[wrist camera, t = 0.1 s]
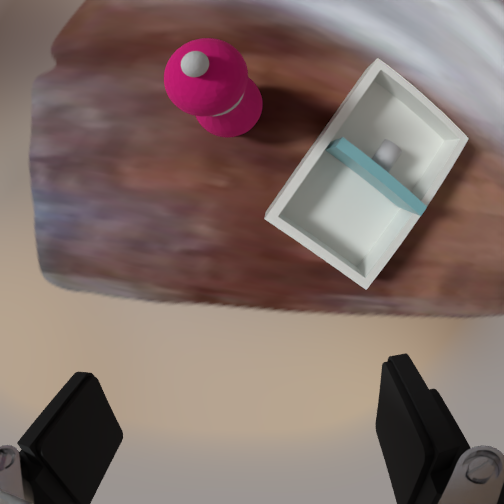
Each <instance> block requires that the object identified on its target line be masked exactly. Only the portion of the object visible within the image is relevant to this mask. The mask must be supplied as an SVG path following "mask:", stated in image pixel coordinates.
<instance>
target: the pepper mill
mask: <svg viewBox="0 0 504 504" xmlns="http://www.w3.org/2000/svg"><path fill="white" fill-rule="evenodd" d="M164 84H165V89H166V92H167V94H168V96H169V98H170V99H171V101H172V102H173V103H174V104H175V105H176V106H177V107H178V108H179V109H181V110H182V111H184V112H186V113H188V114H191V115H195V116H196V118H197V120H198V122H199V123H200V124H201V126H202V127H203V128H205V129H206V130H207V131H208V132H210V133H212V134H214V135H216V136H220V137H235V136H238V135H241V134H244V133H246V132H247V131H249V130H250V129H251V128H252V127H253V126H254V125H255V124H256V123H257V121H258V119H259V118H260V115H261V112H262V107H263V101H262V96H261V93H260V91H259V89H258V87H257V86H256V84H255V83H254V82H253V81H252V80H251V79H250V78H248V70H247V66H246V63H245V61H244V59H243V57H242V55H241V54H240V53H239V52H238V50H237V49H235V48H234V47H233V46H232V45H230V44H228V43H227V42H224V41H222V40H218V39H212V38H203V39H197V40H193V41H190V42H188V43H186V44H185V45H183V46H181V47H180V48H179V49H177V50H176V51H175V53H174V54H173V55H172V56H171V58H170V59H169V61H168V63H167V65H166V68H165V72H164Z"/></svg>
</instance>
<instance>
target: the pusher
mask: <svg viewBox="0 0 504 504" xmlns="http://www.w3.org/2000/svg"><path fill="white" fill-rule="evenodd" d="M325 150H326V151H327V152H328V153H330V154H331V155H333V156H334V157H335V158H337V159H338V160H339V161H341V162H342V163H343V164H345V165H346V166H347V167H349V168H350V169H351V170H353V171H354V172H355V173H357V174H358V175H359V176H360V177H362V178H363V179H364V180H366V181H367V182H368V183H369V184H371V185H372V186H373V187H374V188H376V189H377V190H378V191H379V192H380V193H382V194H383V195H384V196H385V197H387V198H388V199H389V200H390V201H391V202H393V203H394V204H395V205H396V206H397V207H399V208H402V209H404V210H407V211H409V212H412V213H414V214H417V215H419V216H421V215H422V214H423V212H424V211H425V210H426V208H427V206H426V205H425V204H424V203H422V202H421V201H420V200H419V199H418V198H417V197H416V196H415V195H414V194H412V193H411V192H410V191H409V190H408V189H407V188H406V187H404V186H403V185H402V184H401V183H400V182H399V181H398V180H396V179H395V178H394V177H393V176H392V175H390V174H389V171H390V170H391V168H392V167H393V165H394V164H395V162H396V161H397V159H398V158H399V156H400V155H401V153H402V150H401V149H400V148H399V147H398V146H397V145H396V144H395V143H393V142H391V141H390V140H387V139H384V141H383V142H382V144H381V145H380V147H379V148H378V150H377V151H376V153H375V154H374V155H373V157H372V158H370V157H368V156H367V155H366V154H364V153H363V152H362V151H361V150H359V149H358V148H357V147H355V146H354V145H353V144H351V143H350V142H349V141H347V140H346V139H345V138H343V137H341V138H339V139H336V140H334V141H331V142H330V143H329V145H328V146H327V148H326V149H325Z"/></svg>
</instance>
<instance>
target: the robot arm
mask: <svg viewBox="0 0 504 504" xmlns="http://www.w3.org/2000/svg"><path fill="white" fill-rule="evenodd" d="M376 432H377V436H378V439H379V442H380V446H381V449H382V452H383V456H384V459H385V462H386V466H387V469H388V473H389V476H390V480H391V483H392V487H393V490H394V494H395V498H396V501H397V504H504V455H503V454H502V452H501V451H499V450H497V449H496V448H493V447H491V446H476V447H473V448H470V446H469V444H468V443H467V441H466V439H465V437H464V435H463V433H462V432H461V430H460V428H459V426H458V425H457V423H456V421H455V419H454V418H453V416H452V415H451V413H450V411H449V409H448V407H447V406H446V404H445V403H444V401H443V399H442V397H441V396H440V394H439V393H438V391H437V390H436V389H430V390H429V389H428V387H427V385H426V384H425V382H424V380H423V379H422V377H421V375H420V374H419V372H418V370H417V369H416V367H415V365H414V364H413V362H412V360H411V359H410V357H409V356H408V355H407V354H401V355H395V356H390V357H389V358H388V362H384V363H383V365H382V373H381V384H380V393H379V403H378V410H377V417H376ZM122 439H123V432H122V430H121V428H120V426H119V424H118V422H117V420H116V418H115V416H114V413H113V411H112V409H111V407H110V405H109V403H108V401H107V399H106V397H105V394H104V392H103V390H102V387H101V385H100V383H99V381H98V379H97V378H96V377H94V375H93V374H92V373H87V372H76V373H75V374H74V375H73V376H72V377H71V378H70V380H69V381H68V382H67V383H66V384H65V385H64V387H63V388H62V389H61V390H60V391H59V392H58V394H57V395H56V396H55V397H54V398H53V400H52V401H51V402H50V403H49V404H48V406H47V407H46V408H45V409H44V410H43V412H42V413H41V414H40V415H39V417H38V418H37V419H36V420H35V421H34V423H33V424H32V425H31V426H30V427H29V429H28V430H27V431H26V432H25V434H24V435H23V436H22V437H21V439H20V440H19V441H18V445H19V446H20V448H21V449H22V450H21V451H20V452H19V451H18V450H17V449H16V448H15V447H13V446H11V445H4V446H1V447H0V504H90V503H91V501H92V499H93V497H94V495H95V493H96V491H97V489H98V487H99V485H100V483H101V481H102V479H103V477H104V475H105V473H106V471H107V469H108V467H109V465H110V463H111V461H112V459H113V457H114V455H115V453H116V451H117V449H118V447H119V445H120V443H121V442H122Z"/></svg>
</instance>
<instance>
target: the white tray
mask: <svg viewBox="0 0 504 504" xmlns="http://www.w3.org/2000/svg"><path fill="white" fill-rule="evenodd" d="M341 137H343V138H345V139H346V140H347V141H349V142H350V143H351V144H353V145H354V146H355V147H357V148H358V149H359V150H361V151H362V152H363V153H364V154H366V155H367V156H368V157H370V158H372V157H373V155H374V154H375V153H376V151H377V150H378V148H379V147H380V145H381V144H382V142H383V141H384V139H387V140H390V141H391V142H393V143H395V144H396V145H397V146H398V147H399V148H400V149H401V150H402V153H401V155H400V156H399V158H398V159H397V161H396V162H395V164H394V165H393V167H392V168H391V170H390V171H389V174H390V175H392V176H393V177H394V178H395V179H396V180H398V181H399V182H400V183H401V184H402V185H403V186H404V187H406V188H407V189H408V190H409V191H410V192H411V193H412V194H414V195H415V196H416V197H417V198H418V199H419V200H420V201H421V202H422V203H424V204H425V205H426V206H428V204H429V203H430V201H431V200H432V198H433V197H434V195H435V194H436V192H437V190H438V189H439V187H440V186H441V184H442V183H443V181H444V179H445V178H446V176H447V175H448V173H449V171H450V170H451V168H452V166H453V165H454V163H455V161H456V160H457V158H458V156H459V155H460V153H461V151H462V150H463V148H464V146H465V144H466V143H467V141H468V139H469V138H468V137H467V136H466V135H465V134H464V133H463V132H462V131H461V130H460V129H459V128H458V127H457V126H456V125H455V124H454V123H453V122H452V121H451V120H450V119H449V118H448V117H447V116H446V115H445V114H444V113H443V112H442V111H441V110H440V109H439V108H438V107H437V106H435V105H434V104H433V103H432V102H431V101H430V100H429V99H428V98H427V97H426V96H424V95H423V94H422V93H421V92H420V91H419V90H417V89H416V88H415V87H414V86H413V85H412V84H410V83H409V82H408V81H407V80H406V79H404V78H403V77H402V76H401V75H399V74H398V73H397V72H396V71H394V70H393V69H392V68H391V67H389V66H388V65H387V64H385V63H384V62H383V61H381V60H380V59H379V58H377V59H376V60H375V61H374V62H373V63H372V64H371V65H370V66H369V67H368V68H367V69H366V70H365V72H364V73H363V74H362V76H361V77H360V79H359V80H358V81H357V83H356V84H355V86H354V87H353V88H352V90H351V91H350V93H349V94H348V95H347V97H346V98H345V100H344V101H343V103H342V104H341V105H340V107H339V108H338V110H337V111H336V112H335V114H334V115H333V117H332V118H331V119H330V121H329V122H328V124H327V125H326V127H325V128H324V129H323V131H322V132H321V134H320V135H319V137H318V138H317V139H316V141H315V142H314V144H313V145H312V146H311V148H310V149H309V151H308V152H307V154H306V155H305V156H304V158H303V159H302V161H301V162H300V164H299V165H298V166H297V168H296V169H295V171H294V172H293V174H292V175H291V177H290V178H289V179H288V181H287V182H286V184H285V185H284V187H283V188H282V189H281V191H280V192H279V194H278V195H277V197H276V198H275V200H274V201H273V202H272V204H271V205H270V207H269V208H268V210H267V211H266V214H265V220H267V221H268V222H270V223H271V224H273V225H274V226H276V227H277V228H279V229H280V230H282V231H283V232H285V233H286V234H287V235H289V236H290V237H292V238H293V239H295V240H296V241H298V242H299V243H300V244H302V245H303V246H305V247H306V248H308V249H309V250H311V251H312V252H313V253H315V254H316V255H318V256H319V257H321V258H322V259H323V260H325V261H326V262H328V263H329V264H331V265H332V266H333V267H335V268H336V269H338V270H339V271H340V272H342V273H343V274H345V275H346V276H348V277H349V278H350V279H352V280H353V281H355V282H356V283H357V284H359V285H360V286H361V287H363V288H364V289H367V288H368V287H369V286H370V284H371V283H372V282H373V281H374V279H375V278H376V277H377V275H378V274H379V273H380V272H381V270H382V269H383V268H384V266H385V265H386V264H387V262H388V261H389V260H390V258H391V257H392V256H393V254H394V253H395V251H396V250H397V249H398V247H399V246H400V245H401V243H402V242H403V240H404V239H405V238H406V236H407V235H408V233H409V232H410V231H411V229H412V228H413V226H414V225H415V223H416V222H417V221H418V219H419V218H420V216H419V215H417V214H414V213H412V212H409V211H407V210H404V209H402V208H399V207H397V206H396V205H395V204H394V203H393V202H391V201H390V200H389V199H388V198H387V197H385V196H384V195H383V194H382V193H380V192H379V191H378V190H377V189H376V188H374V187H373V186H372V185H371V184H369V183H368V182H367V181H366V180H364V179H363V178H362V177H360V176H359V175H358V174H357V173H355V172H354V171H353V170H351V169H350V168H349V167H347V166H346V165H345V164H343V163H342V162H341V161H339V160H338V159H337V158H335V157H334V156H333V155H331V154H330V153H328V152H327V151H326V150H325V149H326V148H327V146H328V145H329V143H330V142H331V141H334V140H336V139H339V138H341Z"/></svg>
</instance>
